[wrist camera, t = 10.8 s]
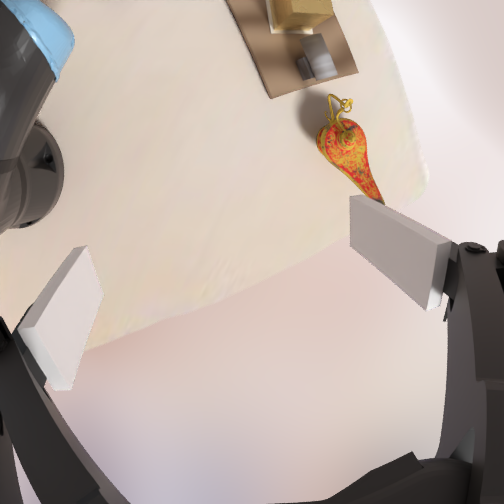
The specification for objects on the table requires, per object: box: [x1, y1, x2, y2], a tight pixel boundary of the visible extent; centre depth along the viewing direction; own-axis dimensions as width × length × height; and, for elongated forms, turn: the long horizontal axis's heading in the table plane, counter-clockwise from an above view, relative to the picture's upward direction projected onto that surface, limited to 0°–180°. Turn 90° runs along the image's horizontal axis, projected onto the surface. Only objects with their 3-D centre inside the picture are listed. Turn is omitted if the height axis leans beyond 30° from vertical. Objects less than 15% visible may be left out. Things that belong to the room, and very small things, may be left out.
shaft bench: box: [226, 0, 359, 99], centre depth 31 cm, size 22×14×6 cm, turn 21°
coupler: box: [269, 0, 334, 31], centre depth 29 cm, size 5×5×8 cm
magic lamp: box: [317, 94, 385, 205], centre depth 38 cm, size 7×18×11 cm, turn 31°
